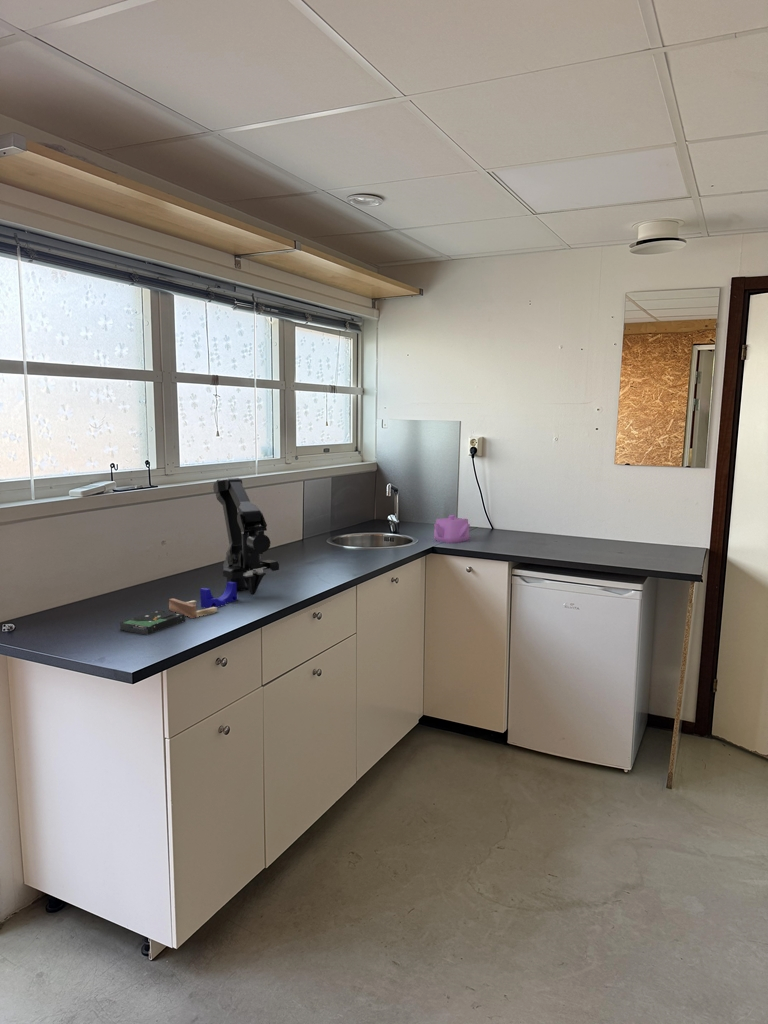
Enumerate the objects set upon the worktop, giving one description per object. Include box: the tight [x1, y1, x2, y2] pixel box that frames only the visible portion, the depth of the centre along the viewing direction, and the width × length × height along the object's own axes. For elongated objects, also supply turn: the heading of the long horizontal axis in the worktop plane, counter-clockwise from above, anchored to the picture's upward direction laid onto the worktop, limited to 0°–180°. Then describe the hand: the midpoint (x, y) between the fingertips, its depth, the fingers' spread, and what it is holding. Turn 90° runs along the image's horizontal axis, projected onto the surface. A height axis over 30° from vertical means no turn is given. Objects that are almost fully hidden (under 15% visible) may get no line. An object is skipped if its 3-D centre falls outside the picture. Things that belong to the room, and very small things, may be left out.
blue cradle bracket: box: [199, 581, 238, 609], centre depth 220 cm, size 12×4×6 cm, turn 143°
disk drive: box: [119, 609, 186, 635], centre depth 198 cm, size 10×3×15 cm
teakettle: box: [433, 514, 471, 544], centre depth 335 cm, size 17×17×12 cm
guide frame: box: [168, 598, 218, 619], centre depth 212 cm, size 8×13×4 cm, turn 47°
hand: (252, 594), depth 228 cm, fingers closed
